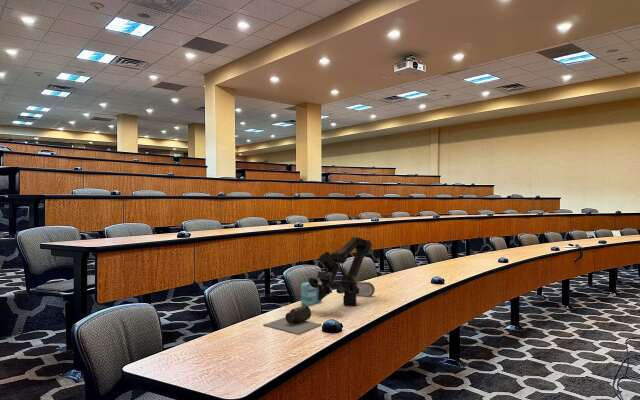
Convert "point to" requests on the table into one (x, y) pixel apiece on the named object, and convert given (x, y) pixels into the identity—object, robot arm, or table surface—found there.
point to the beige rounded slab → (365, 289)
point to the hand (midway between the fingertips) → (318, 300)
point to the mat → (292, 326)
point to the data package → (309, 294)
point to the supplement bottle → (298, 315)
